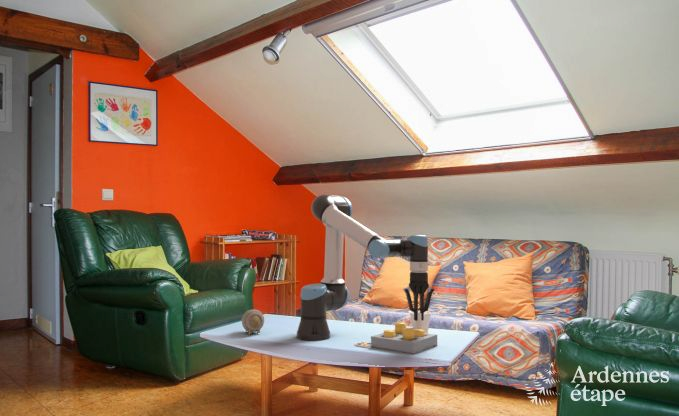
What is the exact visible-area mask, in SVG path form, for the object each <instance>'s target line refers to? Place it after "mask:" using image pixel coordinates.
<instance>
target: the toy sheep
mask: <svg viewBox="0 0 679 416" xmlns="http://www.w3.org/2000/svg"><path fill="white" fill-rule="evenodd" d="M264 324H265V316H264V315H263V313H262V312H261V311H260V310H258V309H254V308H253V309H248V310H247V311H245V312H244V313H243V315H242V317H241V325H242V327H243V329H244V330H245V332H246V331H248V332H247V333H248V335H249V334H251V335H252V333H256V334H257V333H260V334H261V329H262V328H263V327H264Z"/></svg>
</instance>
